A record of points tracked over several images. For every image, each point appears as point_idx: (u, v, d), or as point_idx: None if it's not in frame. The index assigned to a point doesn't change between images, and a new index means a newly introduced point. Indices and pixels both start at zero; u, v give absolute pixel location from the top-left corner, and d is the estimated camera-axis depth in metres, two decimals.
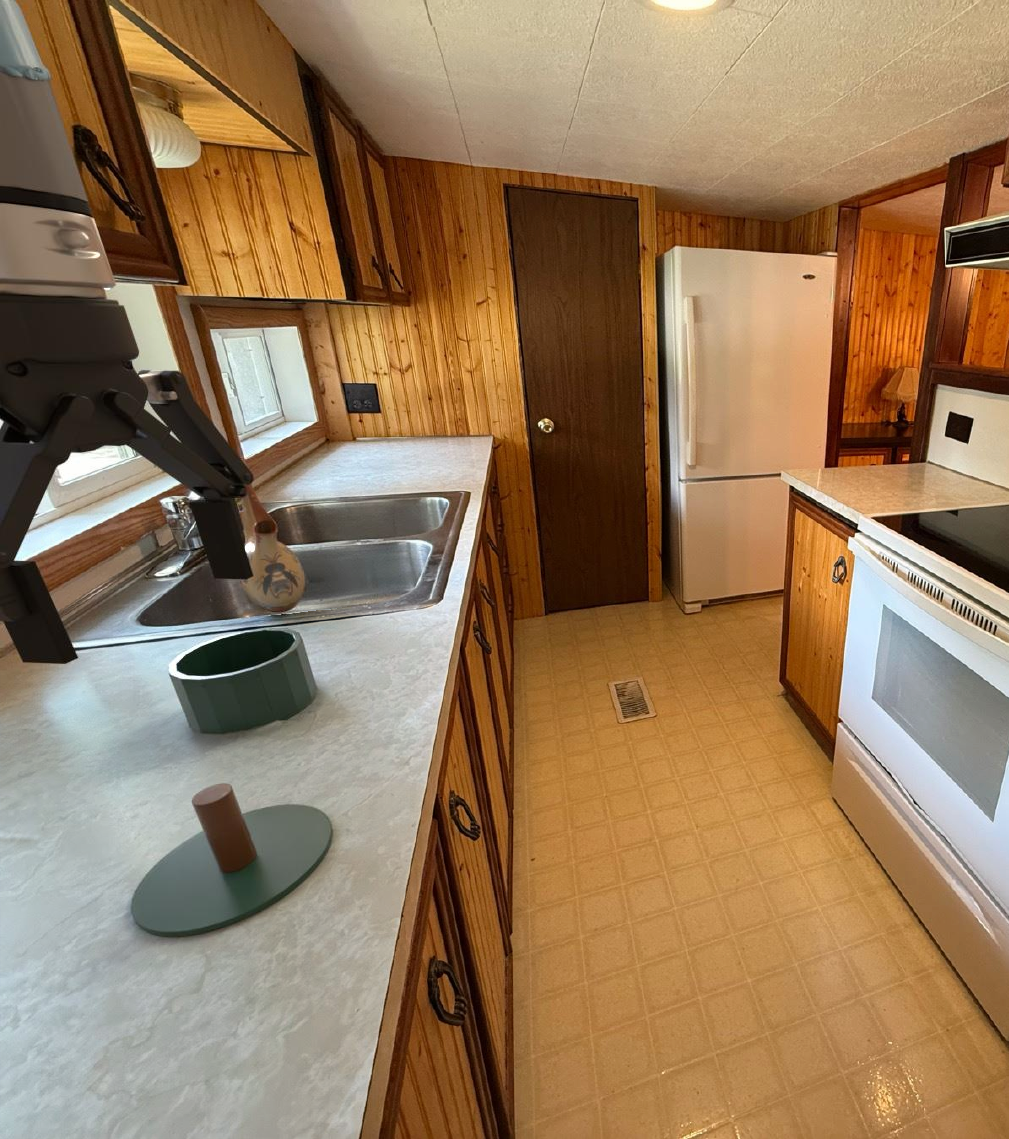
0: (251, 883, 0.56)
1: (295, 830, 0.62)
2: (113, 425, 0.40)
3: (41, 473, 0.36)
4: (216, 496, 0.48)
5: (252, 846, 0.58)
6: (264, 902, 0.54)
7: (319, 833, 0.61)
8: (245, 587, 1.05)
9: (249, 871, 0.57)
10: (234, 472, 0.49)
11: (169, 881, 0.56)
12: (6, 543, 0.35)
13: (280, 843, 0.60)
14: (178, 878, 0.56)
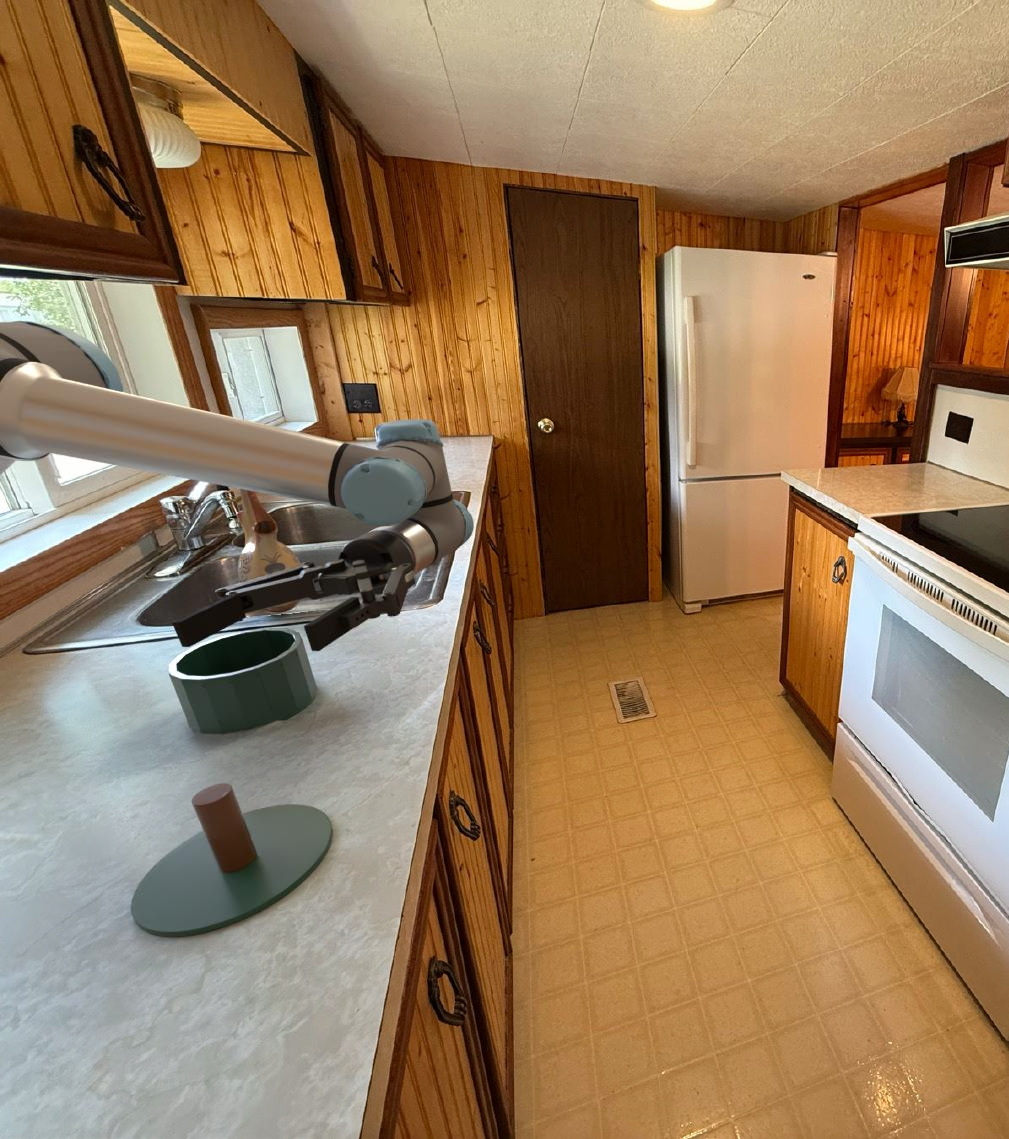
0: (251, 883, 0.56)
1: (295, 830, 0.62)
2: None
3: None
4: None
5: (252, 846, 0.58)
6: (264, 902, 0.54)
7: (319, 833, 0.61)
8: None
9: (249, 871, 0.57)
10: None
11: (169, 881, 0.56)
12: None
13: (280, 843, 0.60)
14: (178, 878, 0.56)
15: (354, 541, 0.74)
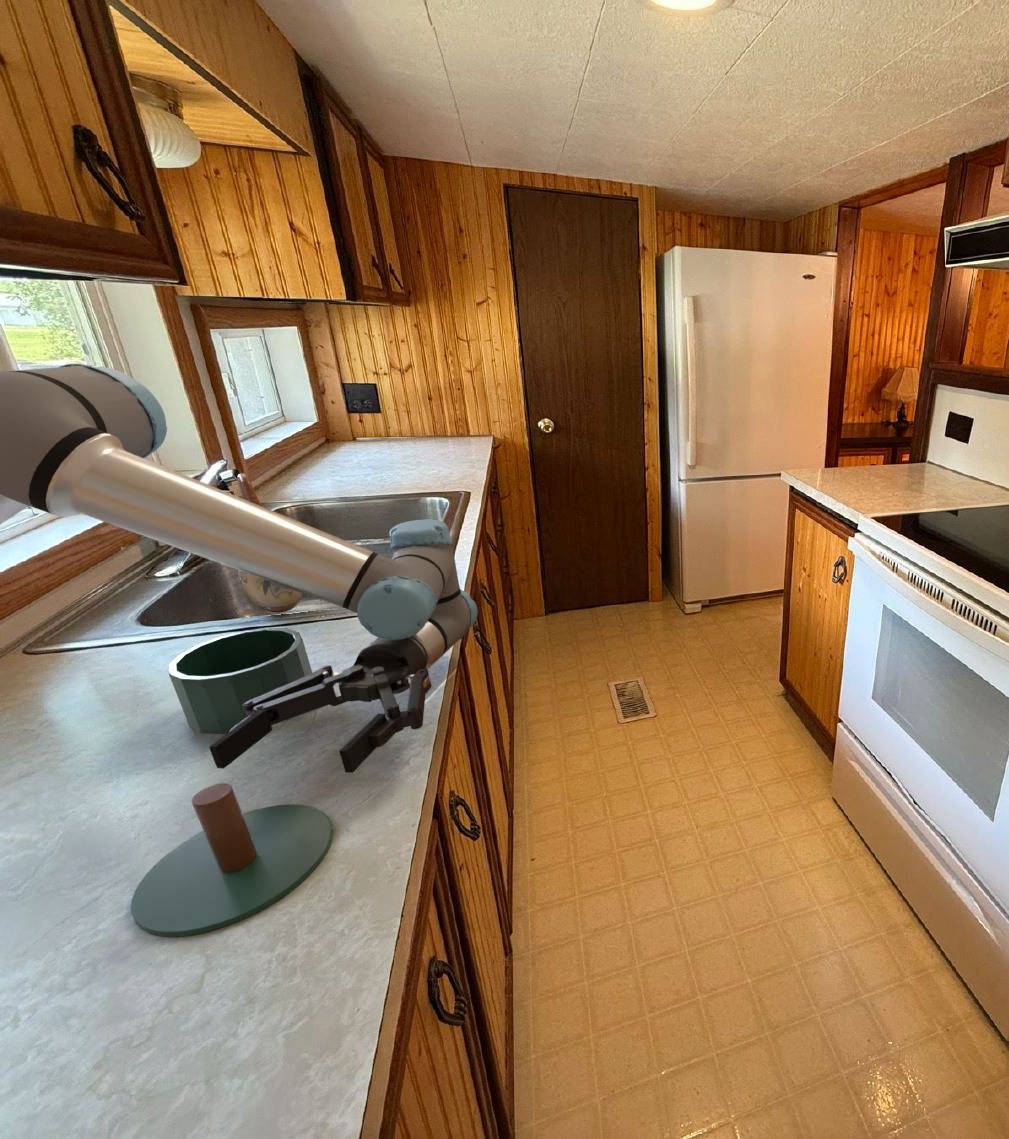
0: (251, 883, 0.56)
1: (295, 830, 0.62)
2: None
3: None
4: None
5: (252, 846, 0.58)
6: (264, 902, 0.54)
7: (319, 833, 0.61)
8: (245, 587, 1.05)
9: (249, 871, 0.57)
10: None
11: (169, 881, 0.56)
12: None
13: (280, 843, 0.60)
14: (178, 878, 0.56)
15: (372, 646, 0.78)
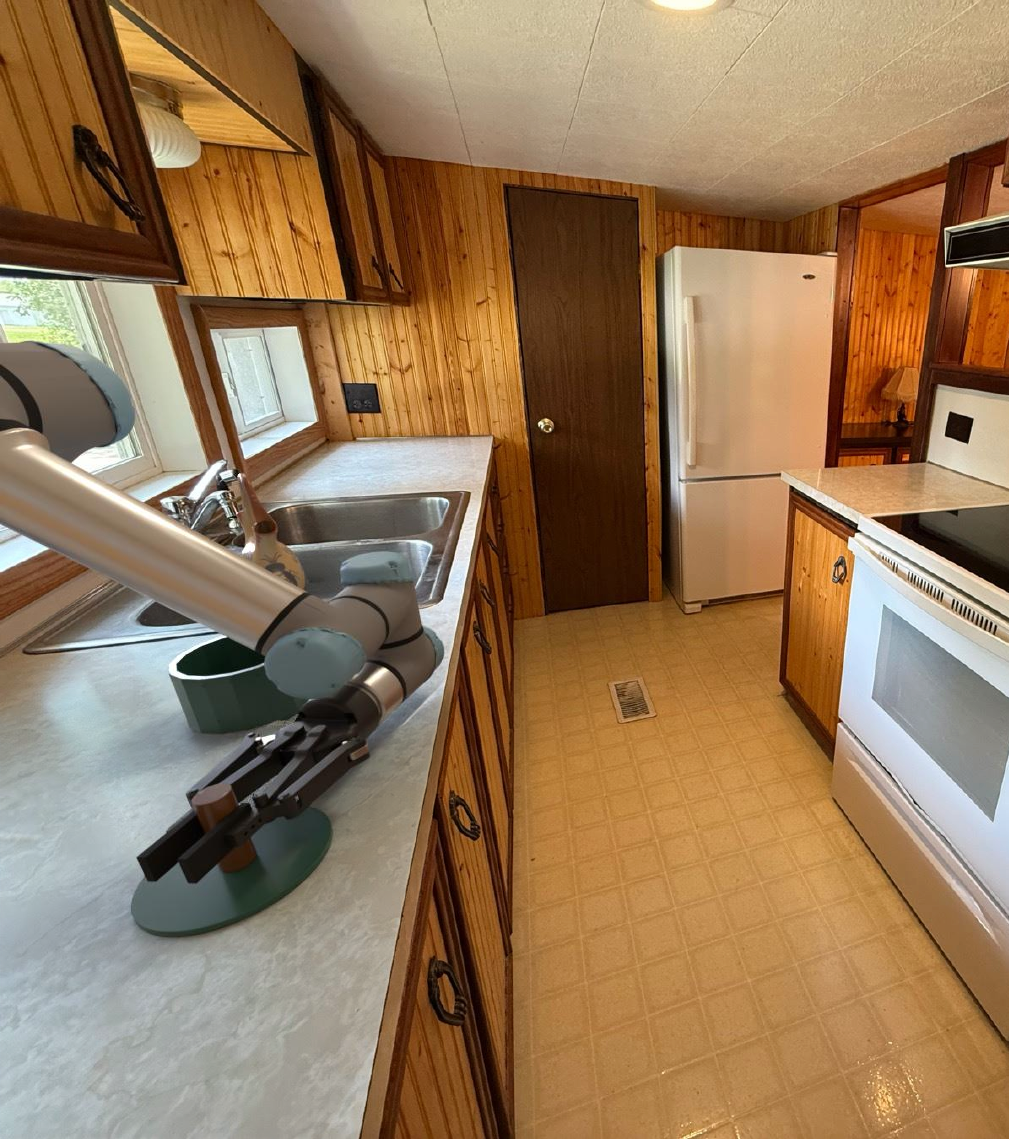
0: (251, 883, 0.56)
1: (295, 830, 0.62)
2: None
3: None
4: None
5: (252, 846, 0.58)
6: (264, 902, 0.54)
7: (319, 833, 0.61)
8: None
9: (249, 871, 0.57)
10: None
11: (169, 881, 0.56)
12: None
13: (280, 843, 0.60)
14: (178, 878, 0.56)
15: (315, 701, 0.68)
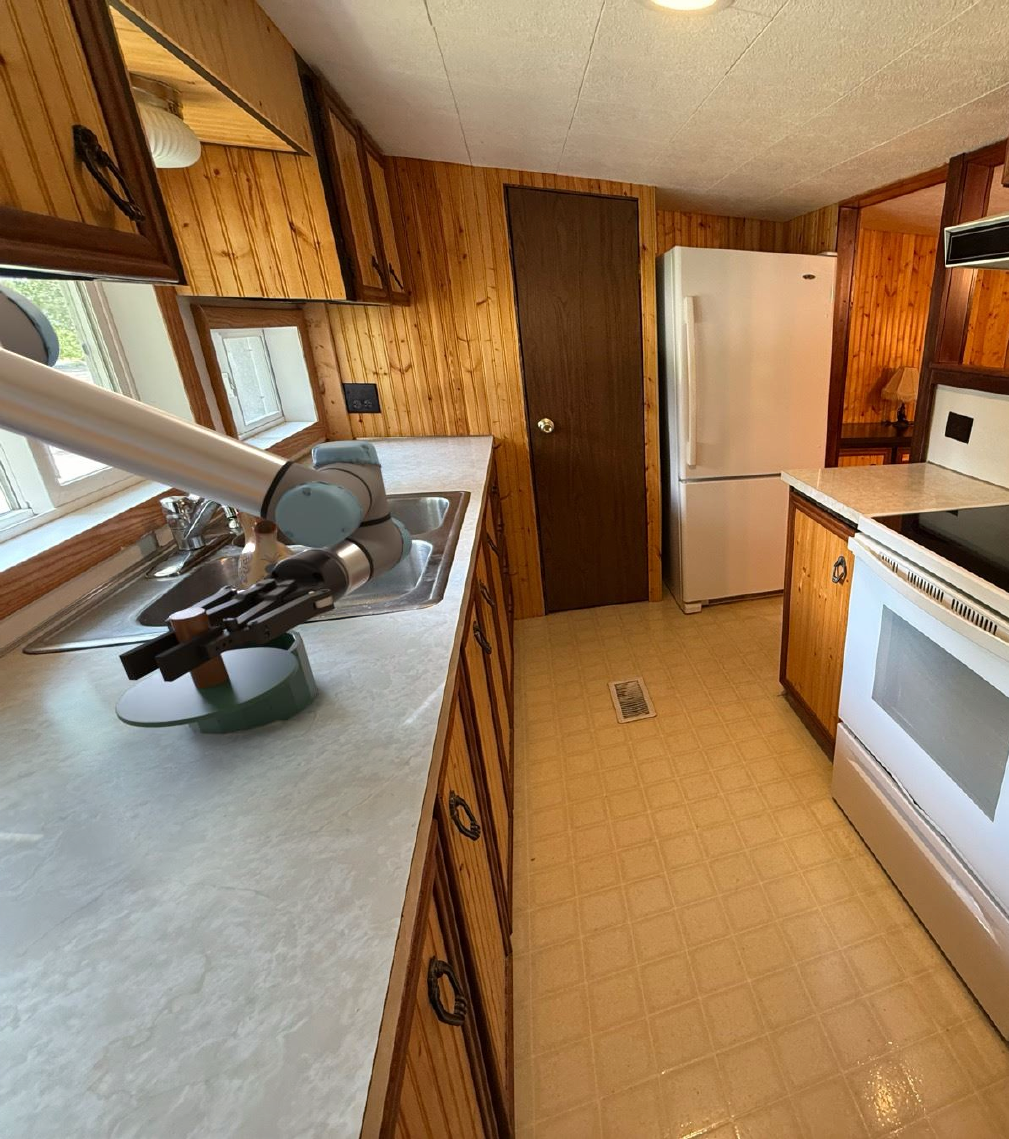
0: (222, 694, 0.63)
1: (264, 663, 0.69)
2: None
3: None
4: None
5: (224, 668, 0.65)
6: (232, 706, 0.61)
7: (286, 665, 0.68)
8: (245, 587, 1.05)
9: (221, 687, 0.64)
10: None
11: (150, 693, 0.63)
12: None
13: (250, 671, 0.67)
14: (158, 691, 0.63)
15: (286, 561, 0.75)
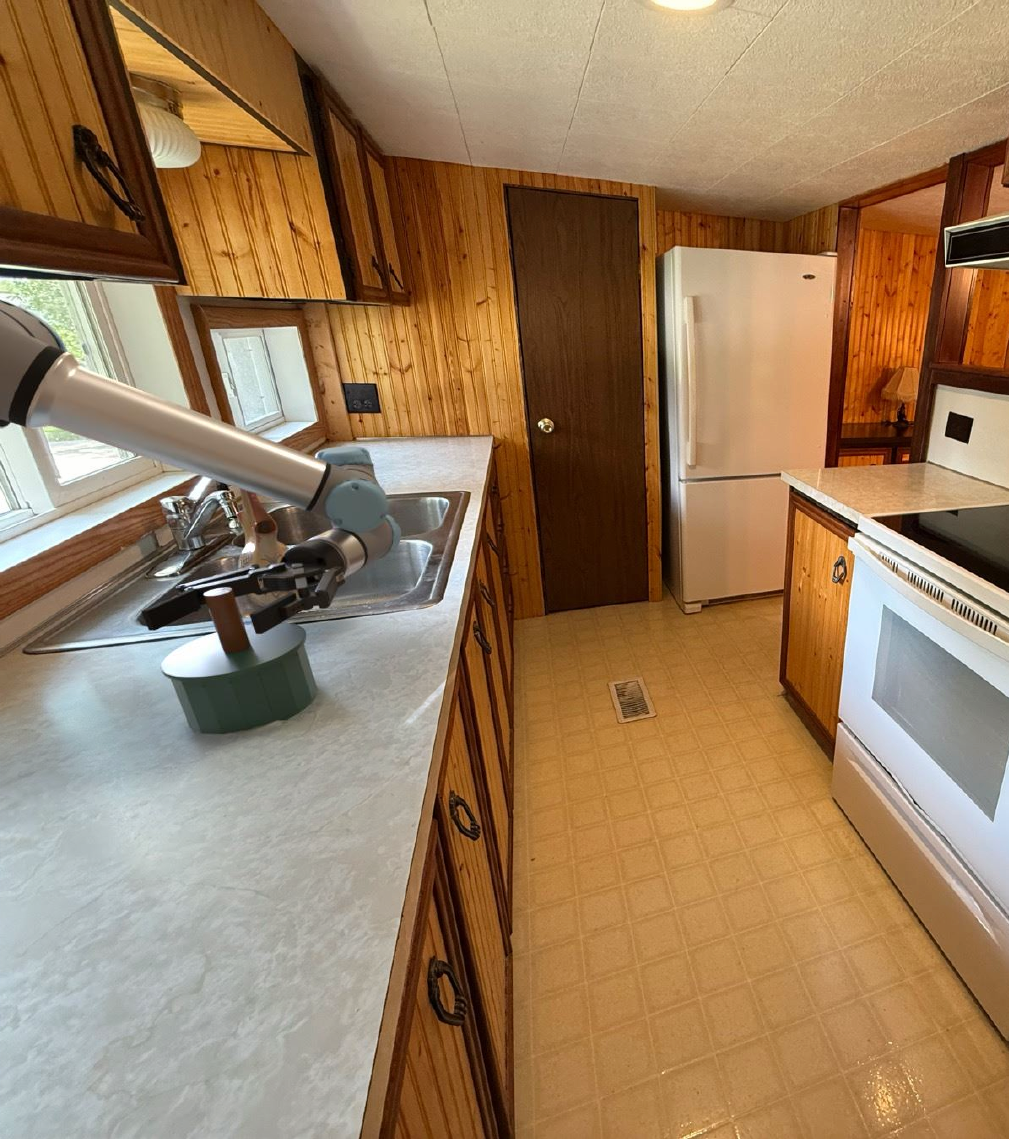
0: (246, 657, 0.78)
1: (279, 634, 0.83)
2: None
3: None
4: None
5: (247, 637, 0.80)
6: (255, 665, 0.76)
7: (296, 635, 0.83)
8: None
9: (245, 652, 0.79)
10: None
11: (187, 656, 0.78)
12: None
13: (267, 640, 0.82)
14: (193, 655, 0.78)
15: (294, 548, 0.90)
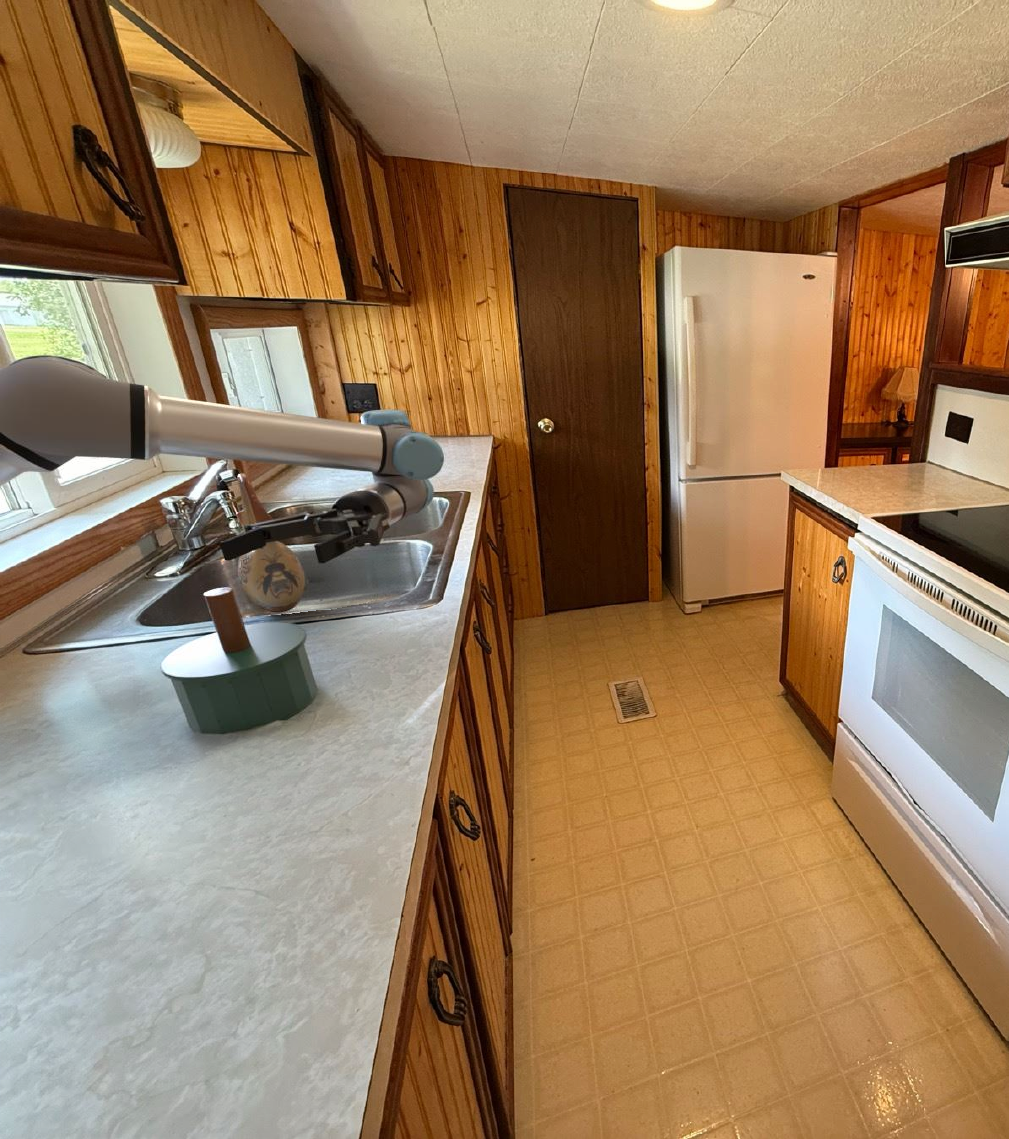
0: (246, 657, 0.78)
1: (279, 634, 0.83)
2: None
3: None
4: None
5: (247, 637, 0.80)
6: (255, 665, 0.76)
7: (296, 635, 0.83)
8: (245, 587, 1.05)
9: (245, 652, 0.79)
10: None
11: (187, 656, 0.78)
12: None
13: (267, 640, 0.82)
14: (193, 655, 0.78)
15: (344, 496, 1.01)
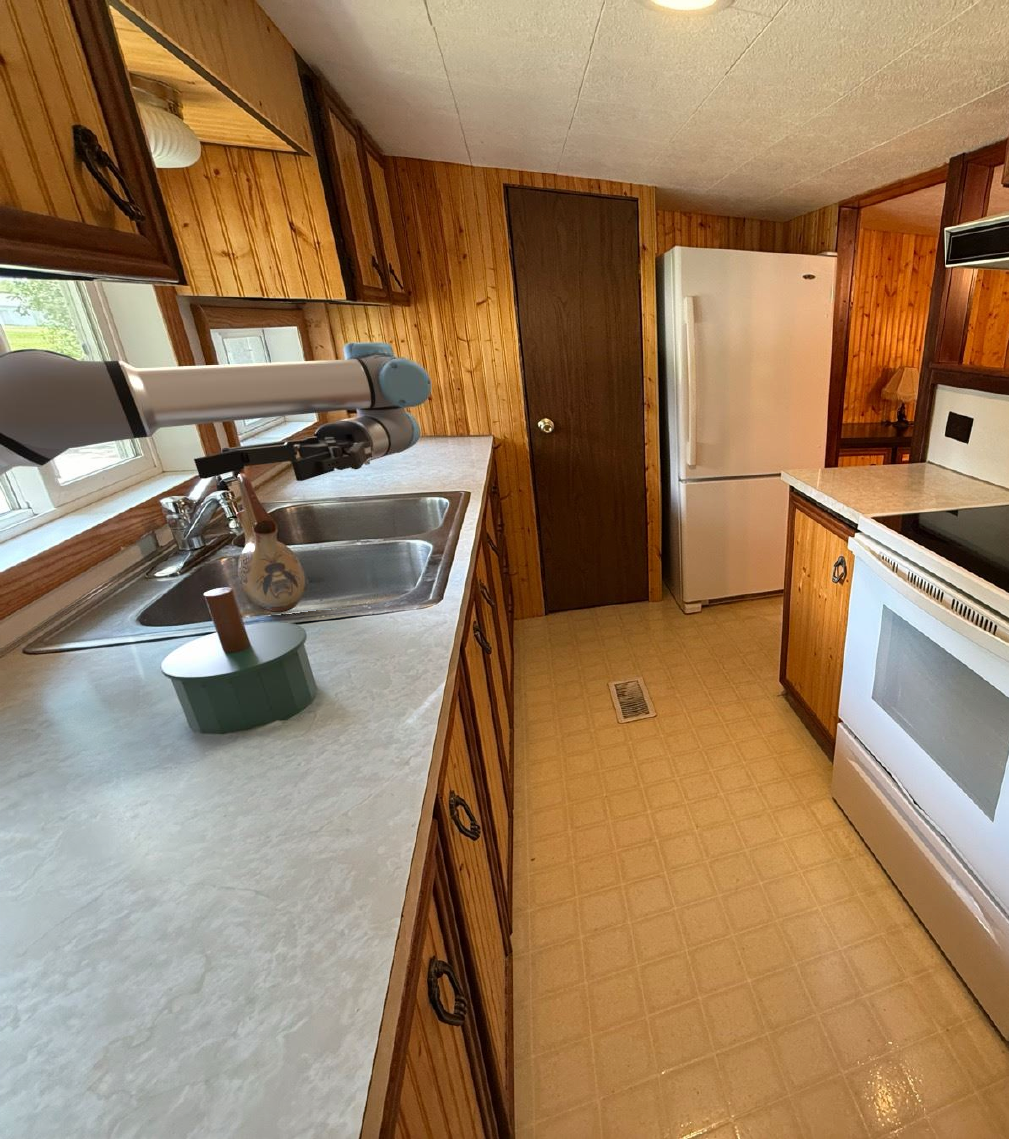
0: (246, 657, 0.78)
1: (279, 634, 0.83)
2: None
3: None
4: None
5: (247, 637, 0.80)
6: (255, 665, 0.76)
7: (296, 635, 0.83)
8: (245, 587, 1.05)
9: (245, 652, 0.79)
10: None
11: (187, 656, 0.78)
12: None
13: (267, 640, 0.82)
14: (193, 655, 0.78)
15: (325, 425, 0.98)
